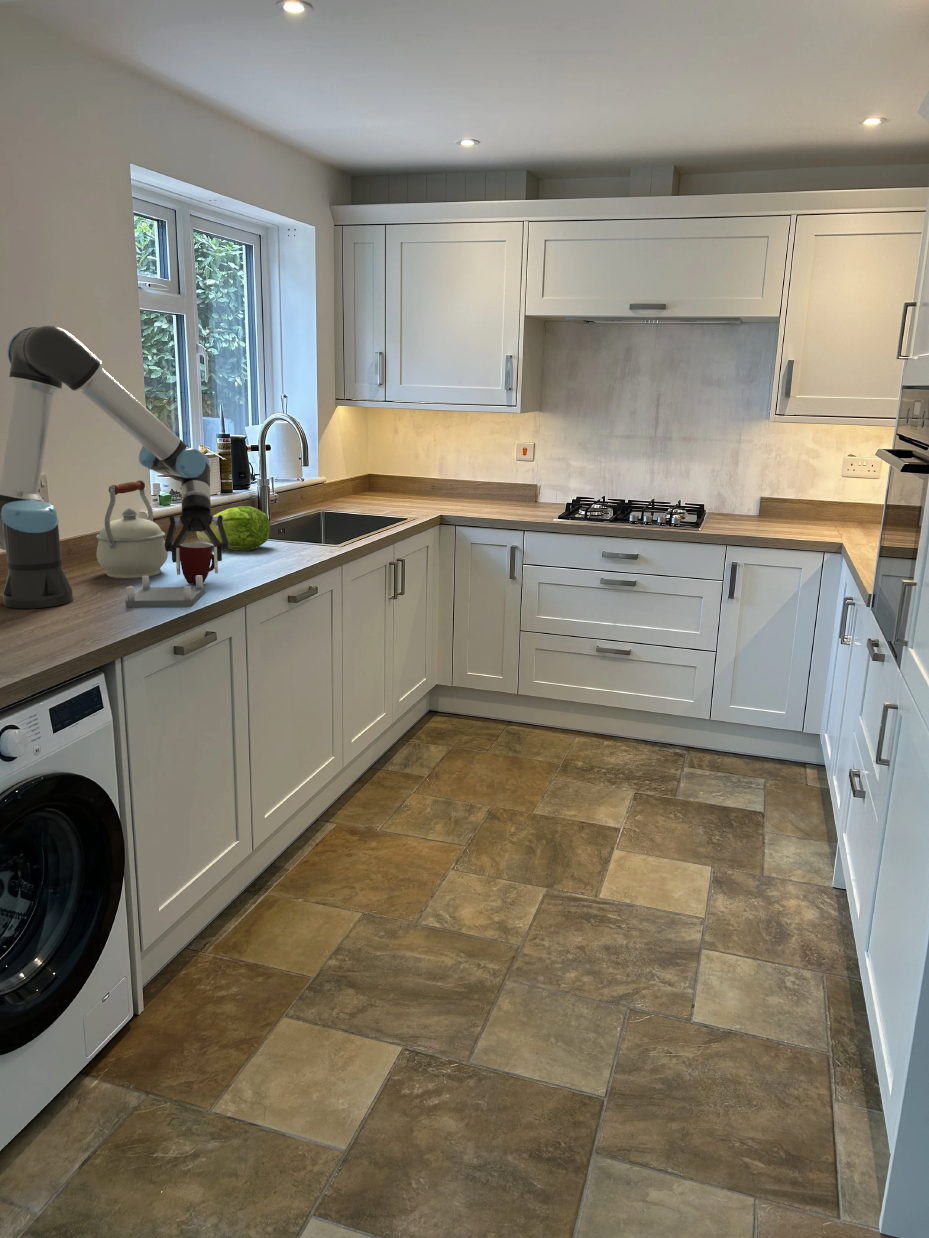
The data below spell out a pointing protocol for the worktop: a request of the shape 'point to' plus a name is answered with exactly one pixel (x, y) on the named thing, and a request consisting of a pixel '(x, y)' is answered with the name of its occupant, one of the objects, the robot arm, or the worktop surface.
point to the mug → (196, 560)
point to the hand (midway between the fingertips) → (197, 571)
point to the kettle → (131, 540)
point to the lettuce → (241, 528)
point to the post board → (165, 595)
